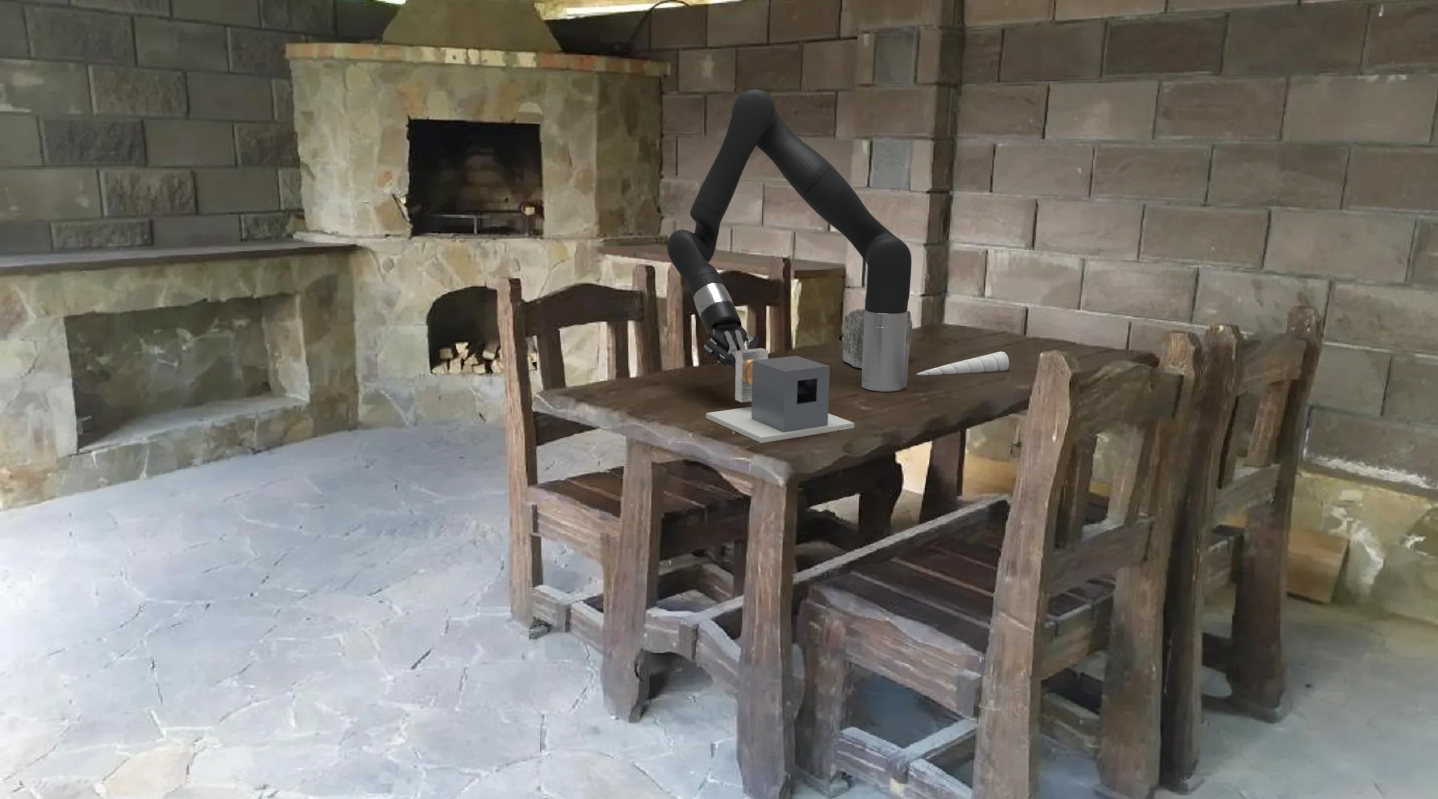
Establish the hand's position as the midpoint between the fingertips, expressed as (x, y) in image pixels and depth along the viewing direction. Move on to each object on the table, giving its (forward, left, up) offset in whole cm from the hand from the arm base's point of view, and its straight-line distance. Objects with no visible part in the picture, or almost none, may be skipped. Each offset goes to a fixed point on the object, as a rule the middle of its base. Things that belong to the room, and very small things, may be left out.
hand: (746, 379), depth 208 cm
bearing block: (0, +15, -5) cm, 16 cm away
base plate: (0, +12, -6) cm, 13 cm away
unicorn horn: (-64, -5, -7) cm, 65 cm away
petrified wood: (-53, -23, -7) cm, 58 cm away
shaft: (0, +8, -4) cm, 9 cm away
